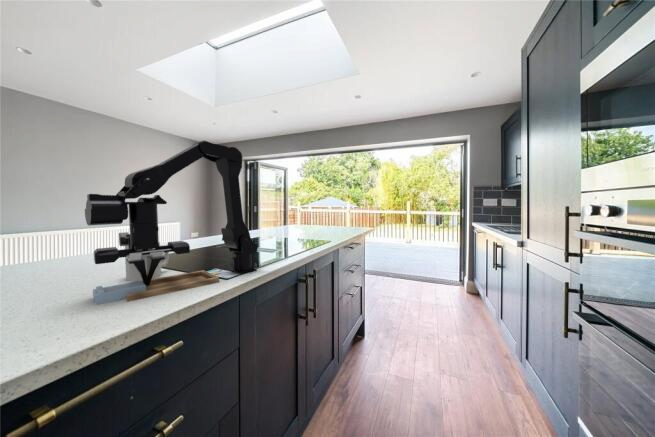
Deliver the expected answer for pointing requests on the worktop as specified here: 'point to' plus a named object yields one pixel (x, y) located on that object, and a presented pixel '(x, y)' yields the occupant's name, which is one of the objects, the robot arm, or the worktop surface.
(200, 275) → the brown flat wooden tray
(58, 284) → the worktop surface
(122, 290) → the blue mattress with pillow
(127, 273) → the mug
